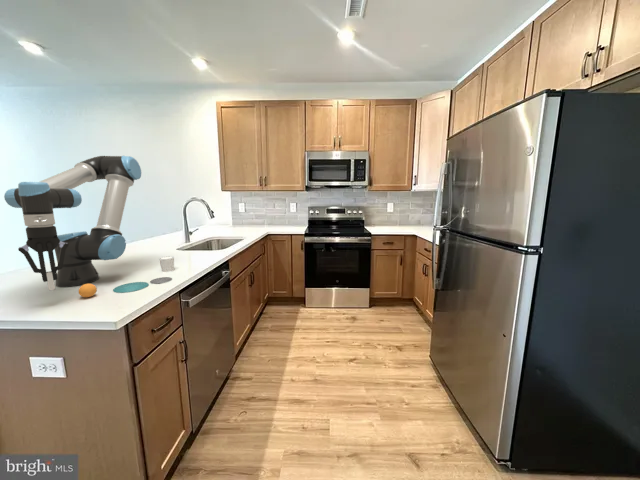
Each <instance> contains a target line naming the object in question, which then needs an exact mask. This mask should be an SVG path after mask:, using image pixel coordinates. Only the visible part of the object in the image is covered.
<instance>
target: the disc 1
mask: <svg viewBox="0 0 640 480" xmlns="http://www.w3.org/2000/svg"><path fill="white" fill-rule="evenodd" d="M148 287H149V282H146V281H135V282H128V283H124V284H121V285H118V286H115V287H114V288H113V289H112V292H114V293H118V294H120V293H121V294H122V293H123V294H125V293H132V292H137V291H140V290H143V289H146V288H148Z"/></svg>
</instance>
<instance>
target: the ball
mask: <svg viewBox="0 0 640 480" xmlns="http://www.w3.org/2000/svg"><path fill="white" fill-rule="evenodd" d="M97 290H98V289H97V286H96V285H94V284H92V283H87V284H82V285H80V287H79V288H78V295H80V297H83V298H90V297H93V296H94V295H95V294H96V293H97Z"/></svg>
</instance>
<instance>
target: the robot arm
mask: <svg viewBox="0 0 640 480" xmlns="http://www.w3.org/2000/svg"><path fill="white" fill-rule="evenodd" d="M141 177H142V168H141V166H140V164H139V162H138V160H137V159H136V158H135V157H132V156H131V155H130V156H129V155H99V156H94V157H90V158H87V159H85V160H82V161H79V162H77V163H75V164H74V167H72V168H69V169H67V170H64V171H62V172H60V173H57V174H55V175H52V176H50V177H47V178H45V179H43V180H40V181H20V182H19V183H18V185H17V186H18V187H16V188H10V189H7V190H6V191H5V192H4V196H3V198H4V201H5V202H6V203H7V205H8V206H10V207H12V208H15V209H21V210H22V217H23V223H24V226H26V228H25V233H26V239H27V240H26V242H25V244H24V245H23V246H18V251H19V252H20V253H21V254H23V255H24V257H25V259H26V261H27V262H28V264H29V266H30V267H31V269H32V271H33V273H36V274H41V277H42V278H41V280H42V281H43V283H46V282H47V286H48V291H54V290H55V289H56V288H55V287H60V288H62V287H65V288H66V287H67V288H68V287H77V286H82V285H84V284H91V283H93V282H95V281H98V280H99V279H100V275H99V272H98V270H97V269H96V267H95V266H94V264H93V262H92V261H109V260H117V259H119V258H120V257H121V256H123V254H124V253H125V251H126V246H127V242H126V238H125V237H124V236H123V232H121V230H120V229H121V228H120V227H121V224H122V220H123V216H124V215H123V214H124V211H125V206H126V201H127V197H128V192H129V188H130V187H133V186H134V183H135V181H138V180H139V179H140V178H141ZM98 180H100V181H101V180H106V182H107V184H106V188H105V191H104V196H103V200H102V202H101V206H100V211H99V215H98V219H97V222H96V226H93V227H92V228H91V229H90V233H89V234H88V232H87V231H77V232H71V233H65V234H59V235H58V232H57V226H55V224H56V221H55V214H54V209H72V208H77V207H79V206H80V205H81V204H82V202H83V201H82V200H83V199H82V195H81V194H80V191H79V192H78V190H76V189H75V188H77V187H79V186H81V185H83V184H85V183H92V182H95V181H98ZM30 249H31V250H33V251H34V252H36V253H37V255H38V263H39V267H40V268H38V266H37V265H36V263H35V261H34V259H33V258H32V255H31V254H30V253H29V251H30ZM44 252H47V254H48V261H49V266H50V267H49V268H50V271H47V269H46V263H45V258H44V257H45V256H44ZM54 253H55V257H56V261H57V266H56V261H55V257H54ZM54 281H55V282H54ZM55 285H56V286H55Z"/></svg>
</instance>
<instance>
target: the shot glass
mask: <svg viewBox="0 0 640 480" xmlns="http://www.w3.org/2000/svg"><path fill="white" fill-rule="evenodd" d="M158 259H159V263H160V269H161V272H162V273H163V272H164V273H167V272H168V273H169V272H173V271H174V270H175V257H174V256H162V257H159V258H158Z"/></svg>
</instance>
